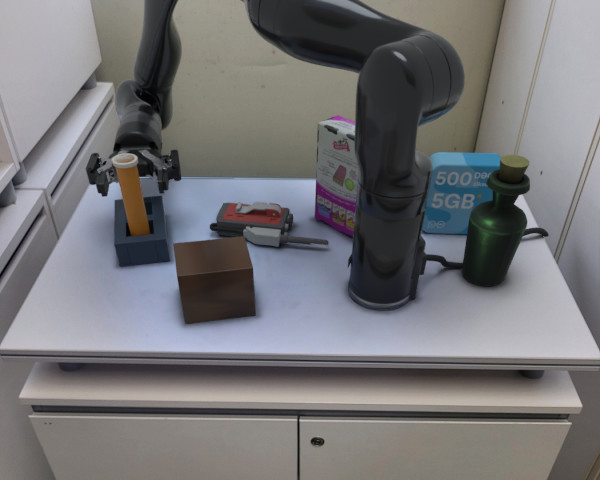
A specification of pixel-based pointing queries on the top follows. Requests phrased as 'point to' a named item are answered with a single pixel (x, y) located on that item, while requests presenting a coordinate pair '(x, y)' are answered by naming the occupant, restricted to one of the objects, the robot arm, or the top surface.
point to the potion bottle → (497, 224)
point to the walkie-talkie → (258, 224)
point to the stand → (215, 279)
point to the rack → (142, 246)
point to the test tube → (131, 193)
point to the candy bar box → (336, 174)
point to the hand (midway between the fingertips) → (132, 189)
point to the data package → (457, 189)
